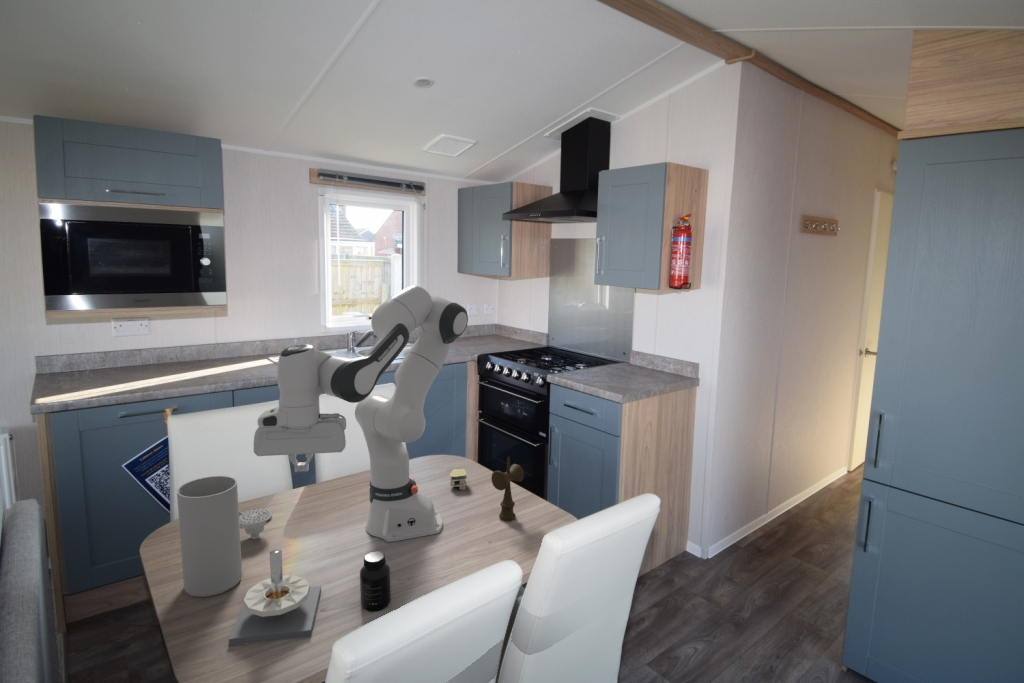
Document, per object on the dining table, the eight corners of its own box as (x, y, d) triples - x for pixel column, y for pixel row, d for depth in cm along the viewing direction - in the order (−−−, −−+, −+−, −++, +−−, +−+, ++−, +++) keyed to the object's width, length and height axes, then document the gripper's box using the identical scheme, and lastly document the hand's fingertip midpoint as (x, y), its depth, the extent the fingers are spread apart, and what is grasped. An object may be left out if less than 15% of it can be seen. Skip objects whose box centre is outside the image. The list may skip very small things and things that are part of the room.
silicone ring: (313, 577, 129) (312, 572, 129) (304, 612, 117) (303, 607, 116) (253, 583, 127) (253, 578, 126) (237, 619, 114) (237, 614, 114)
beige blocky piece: (445, 482, 198) (445, 467, 197) (470, 481, 199) (470, 467, 198) (444, 493, 188) (445, 478, 187) (471, 493, 189) (471, 478, 188)
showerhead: (248, 503, 161) (278, 507, 159) (249, 527, 162) (280, 531, 160) (225, 518, 152) (257, 522, 150) (227, 543, 153) (259, 547, 151)
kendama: (489, 520, 169) (490, 458, 166) (510, 509, 176) (511, 450, 173) (504, 526, 165) (505, 463, 162) (524, 515, 173) (526, 455, 170)
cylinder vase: (180, 603, 126) (172, 501, 122) (188, 574, 137) (181, 480, 133) (241, 591, 131) (235, 492, 127) (243, 564, 142) (238, 473, 138)
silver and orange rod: (296, 600, 126) (293, 543, 124) (290, 618, 120) (288, 558, 118) (266, 603, 125) (263, 545, 122) (259, 621, 118) (256, 561, 116)
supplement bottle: (363, 595, 131) (362, 548, 129) (392, 594, 131) (392, 547, 129) (357, 613, 124) (356, 564, 122) (388, 612, 124) (387, 563, 123)
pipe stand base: (321, 591, 132) (320, 585, 131) (310, 636, 116) (310, 629, 116) (249, 598, 128) (249, 592, 128) (229, 645, 113) (228, 639, 113)
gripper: (347, 409, 133) (348, 463, 135) (256, 412, 129) (259, 468, 131) (344, 416, 127) (346, 473, 129) (249, 420, 123) (252, 478, 125)
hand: (301, 470), depth 130 cm, fingers closed
